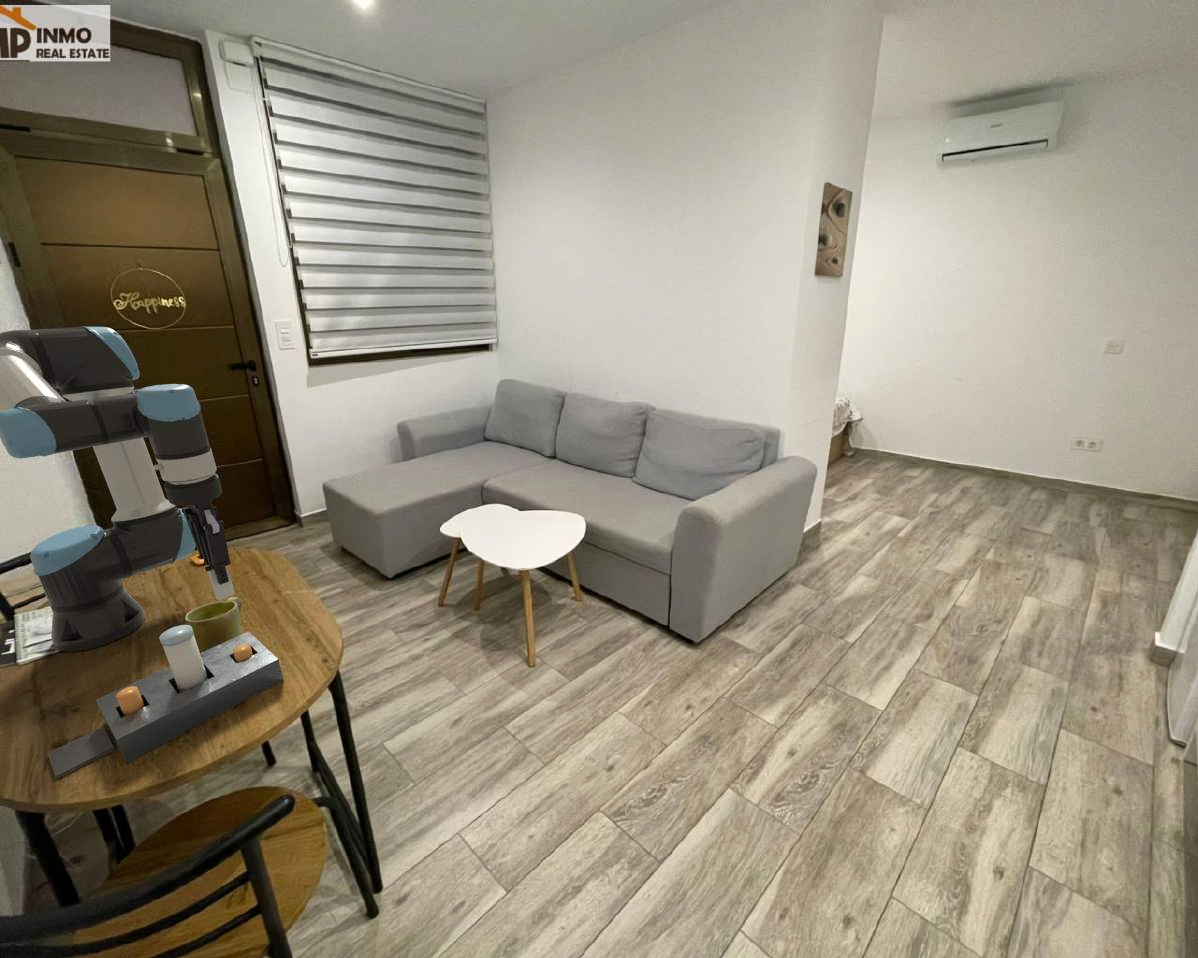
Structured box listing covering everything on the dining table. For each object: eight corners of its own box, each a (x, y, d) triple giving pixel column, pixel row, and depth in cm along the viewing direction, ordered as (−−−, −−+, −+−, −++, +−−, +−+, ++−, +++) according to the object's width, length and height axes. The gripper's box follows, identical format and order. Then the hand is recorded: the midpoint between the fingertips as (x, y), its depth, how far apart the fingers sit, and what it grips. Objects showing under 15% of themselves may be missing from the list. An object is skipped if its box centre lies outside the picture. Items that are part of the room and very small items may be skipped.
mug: (218, 656, 106) (202, 610, 105) (183, 663, 109) (167, 617, 108) (270, 630, 118) (256, 588, 117) (237, 637, 120) (223, 596, 120)
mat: (48, 755, 86) (47, 753, 86) (104, 729, 91) (103, 726, 91) (56, 779, 82) (55, 776, 82) (114, 749, 87) (113, 746, 87)
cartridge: (180, 701, 97) (155, 634, 92) (208, 687, 100) (187, 621, 95) (188, 713, 94) (164, 644, 89) (217, 698, 98) (195, 631, 93)
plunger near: (125, 719, 90) (113, 693, 88) (145, 710, 92) (135, 683, 90) (129, 727, 88) (118, 700, 86) (150, 717, 91) (139, 691, 89)
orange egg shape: (238, 673, 103) (230, 649, 101) (253, 666, 105) (247, 642, 103) (243, 679, 102) (236, 655, 100) (259, 671, 104) (252, 647, 102)
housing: (105, 721, 93) (95, 699, 91) (254, 651, 110) (248, 631, 109) (126, 763, 84) (116, 739, 83) (283, 679, 102) (278, 659, 100)
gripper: (151, 475, 90) (189, 592, 98) (176, 492, 82) (215, 618, 91) (202, 463, 95) (234, 576, 104) (230, 479, 88) (262, 598, 96)
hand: (225, 595), depth 97 cm, fingers closed
